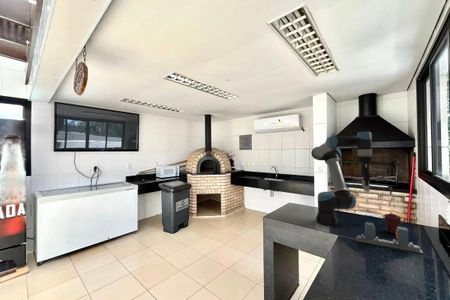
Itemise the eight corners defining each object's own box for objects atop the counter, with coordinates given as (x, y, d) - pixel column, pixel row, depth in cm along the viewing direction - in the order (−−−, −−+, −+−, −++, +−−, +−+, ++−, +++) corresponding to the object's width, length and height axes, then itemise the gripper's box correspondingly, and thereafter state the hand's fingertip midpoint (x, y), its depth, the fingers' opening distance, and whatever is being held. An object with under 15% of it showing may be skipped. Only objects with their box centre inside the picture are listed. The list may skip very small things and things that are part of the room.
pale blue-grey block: (406, 243, 111) (406, 227, 111) (408, 246, 107) (408, 230, 107) (396, 241, 113) (395, 226, 113) (397, 244, 110) (397, 228, 110)
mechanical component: (396, 229, 135) (406, 236, 125) (380, 228, 137) (389, 235, 127) (395, 212, 134) (406, 217, 125) (379, 211, 136) (388, 216, 127)
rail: (356, 241, 119) (355, 223, 119) (355, 238, 124) (355, 220, 124) (423, 254, 104) (422, 232, 104) (420, 249, 108) (419, 229, 108)
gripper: (356, 155, 136) (357, 185, 136) (359, 156, 115) (360, 192, 115) (369, 155, 132) (370, 185, 132) (374, 156, 111) (375, 193, 111)
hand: (365, 188), depth 123 cm, fingers open, 13 cm apart
